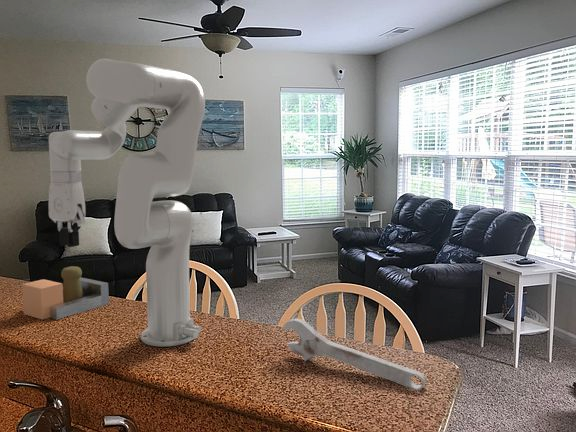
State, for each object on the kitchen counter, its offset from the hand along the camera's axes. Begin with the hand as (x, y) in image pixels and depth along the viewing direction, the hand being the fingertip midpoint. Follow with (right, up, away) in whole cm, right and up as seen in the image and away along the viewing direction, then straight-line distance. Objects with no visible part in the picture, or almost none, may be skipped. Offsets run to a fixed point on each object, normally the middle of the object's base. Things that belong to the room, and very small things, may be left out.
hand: (69, 245), depth 130 cm
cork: (0, -17, +2) cm, 17 cm away
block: (-4, -18, -5) cm, 19 cm away
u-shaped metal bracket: (-1, -17, 0) cm, 17 cm away
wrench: (+72, -23, -37) cm, 84 cm away
